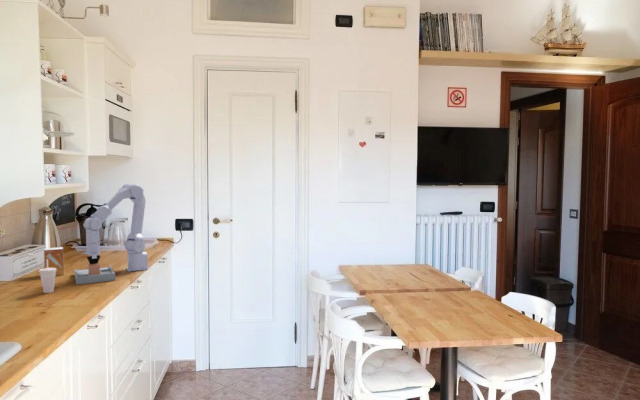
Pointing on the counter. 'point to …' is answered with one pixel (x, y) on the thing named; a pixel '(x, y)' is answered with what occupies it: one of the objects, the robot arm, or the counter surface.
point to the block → (94, 269)
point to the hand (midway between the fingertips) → (93, 270)
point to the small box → (54, 259)
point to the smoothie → (48, 278)
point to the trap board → (94, 276)
